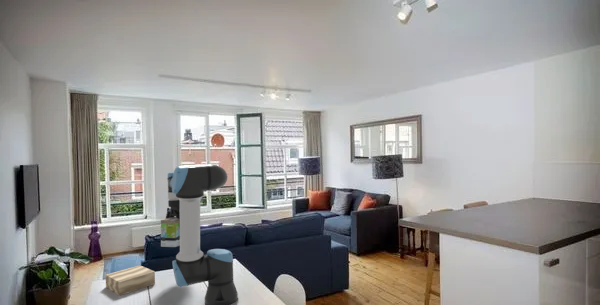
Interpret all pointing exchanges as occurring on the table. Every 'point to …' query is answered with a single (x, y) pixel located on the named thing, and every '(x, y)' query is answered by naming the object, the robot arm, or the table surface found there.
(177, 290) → the table surface
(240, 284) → the table surface
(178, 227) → the tea box
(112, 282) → the oak block
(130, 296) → the table surface
